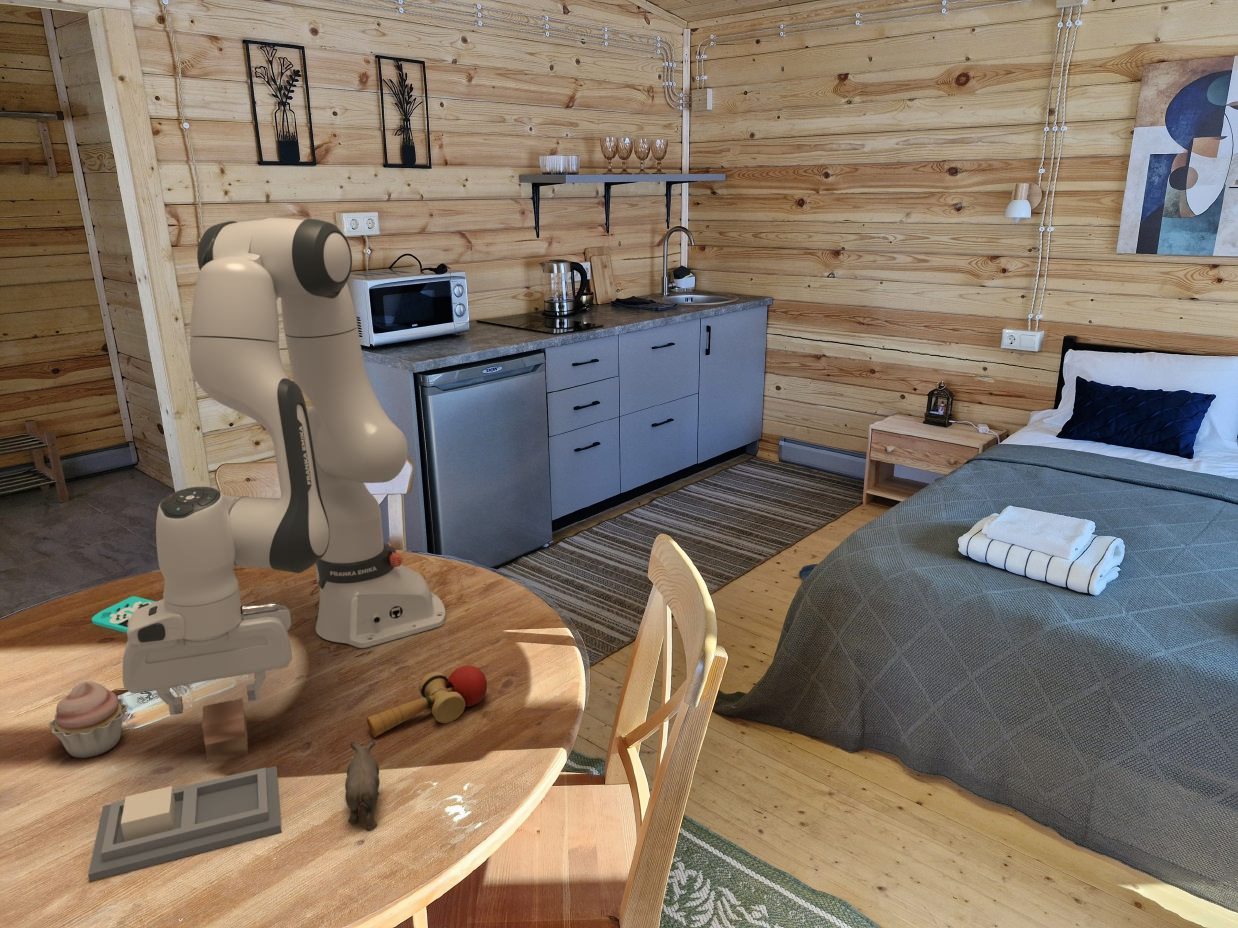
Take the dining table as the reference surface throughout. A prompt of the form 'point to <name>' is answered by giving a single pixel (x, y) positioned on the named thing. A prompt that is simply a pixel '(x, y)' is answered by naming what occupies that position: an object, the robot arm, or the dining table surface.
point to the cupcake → (89, 720)
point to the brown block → (225, 730)
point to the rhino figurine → (362, 784)
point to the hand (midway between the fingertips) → (216, 705)
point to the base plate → (185, 821)
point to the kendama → (436, 699)
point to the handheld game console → (119, 613)
